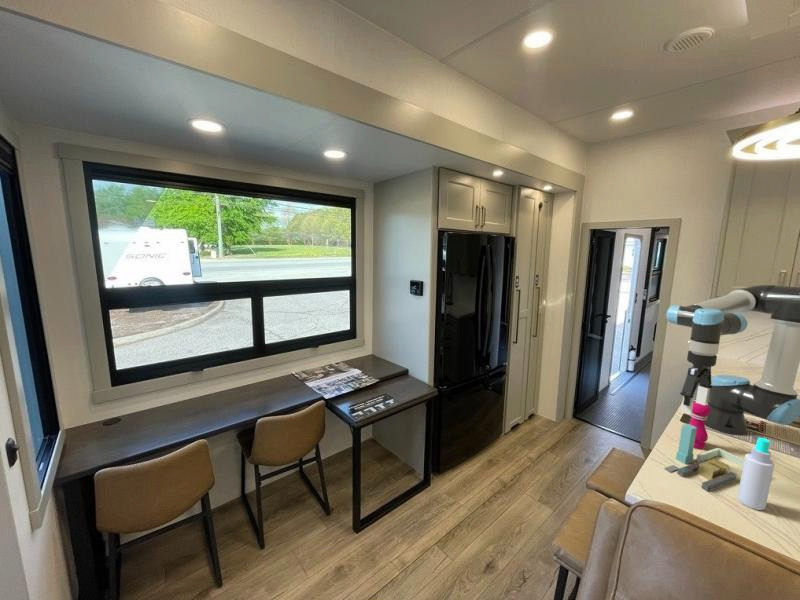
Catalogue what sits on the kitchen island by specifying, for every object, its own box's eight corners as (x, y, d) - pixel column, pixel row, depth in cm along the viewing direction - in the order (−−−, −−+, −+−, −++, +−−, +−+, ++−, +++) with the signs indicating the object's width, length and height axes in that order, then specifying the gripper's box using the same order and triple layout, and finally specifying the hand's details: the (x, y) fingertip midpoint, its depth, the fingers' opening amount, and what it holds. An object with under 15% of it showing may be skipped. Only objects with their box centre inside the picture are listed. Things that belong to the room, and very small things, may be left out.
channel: (705, 464, 121) (706, 459, 120) (736, 479, 113) (737, 474, 112) (677, 473, 116) (677, 468, 115) (707, 491, 107) (708, 486, 107)
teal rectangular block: (675, 459, 124) (681, 425, 121) (683, 456, 125) (688, 423, 123) (684, 463, 121) (690, 429, 119) (692, 461, 122) (698, 427, 120)
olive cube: (713, 468, 119) (715, 458, 118) (727, 475, 115) (729, 465, 114) (706, 470, 117) (708, 461, 117) (720, 478, 114) (722, 468, 113)
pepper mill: (710, 451, 128) (718, 404, 125) (689, 448, 130) (697, 402, 126) (698, 440, 135) (705, 395, 132) (678, 438, 137) (685, 394, 133)
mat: (673, 465, 120) (673, 464, 120) (679, 469, 118) (679, 468, 118) (664, 468, 118) (664, 468, 118) (670, 472, 116) (670, 471, 116)
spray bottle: (770, 510, 100) (785, 445, 96) (753, 511, 99) (766, 446, 96) (748, 495, 106) (761, 433, 102) (731, 496, 105) (743, 434, 101)
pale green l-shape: (717, 453, 127) (718, 447, 127) (764, 476, 114) (766, 470, 114) (696, 460, 123) (697, 454, 122) (743, 485, 110) (744, 478, 110)
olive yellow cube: (704, 471, 117) (706, 461, 116) (718, 479, 113) (720, 468, 113) (697, 474, 116) (699, 464, 115) (711, 481, 112) (713, 471, 111)
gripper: (701, 344, 124) (693, 396, 127) (674, 355, 111) (666, 413, 115) (728, 349, 117) (719, 404, 121) (703, 362, 105) (693, 422, 108)
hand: (693, 408), depth 118 cm, fingers open, 13 cm apart
